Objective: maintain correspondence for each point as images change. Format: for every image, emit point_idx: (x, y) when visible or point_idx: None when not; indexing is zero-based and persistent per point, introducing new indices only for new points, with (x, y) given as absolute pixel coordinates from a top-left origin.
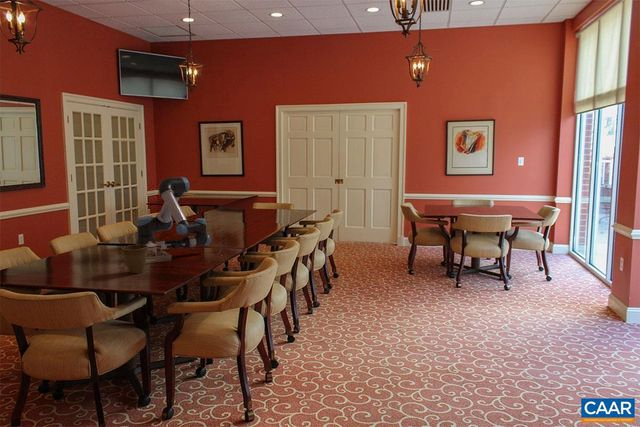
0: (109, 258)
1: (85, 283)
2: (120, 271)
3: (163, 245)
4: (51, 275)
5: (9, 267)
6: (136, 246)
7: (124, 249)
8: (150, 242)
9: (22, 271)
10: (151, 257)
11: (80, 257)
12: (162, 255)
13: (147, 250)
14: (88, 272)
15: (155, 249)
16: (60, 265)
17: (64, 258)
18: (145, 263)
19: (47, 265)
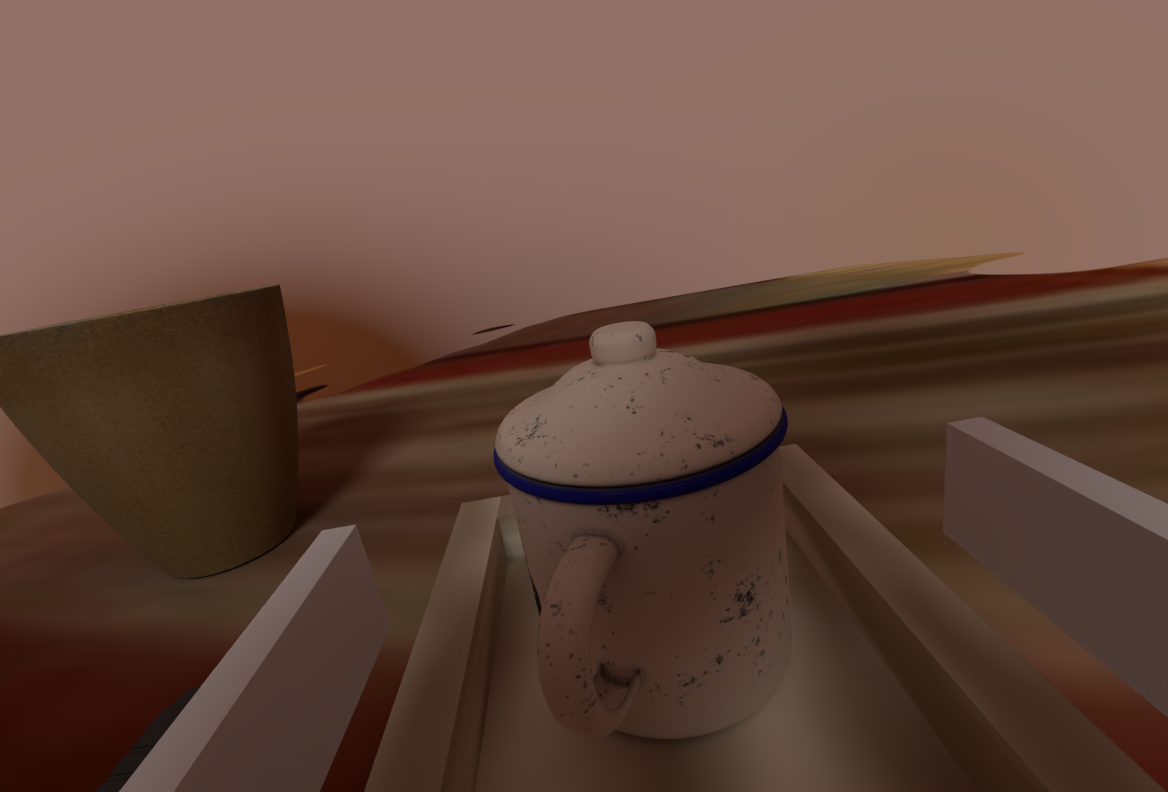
0: (948, 387)
1: (316, 411)
2: (393, 471)
3: (300, 573)
4: (577, 340)
5: (797, 276)
6: (228, 312)
7: (176, 302)
8: (590, 348)
9: (708, 299)
10: (435, 587)
11: (1001, 313)
12: (425, 775)
13: (11, 394)
14: (526, 388)
15: (534, 539)
16: (773, 319)
17: (969, 294)
18: (115, 521)
19: (793, 303)
